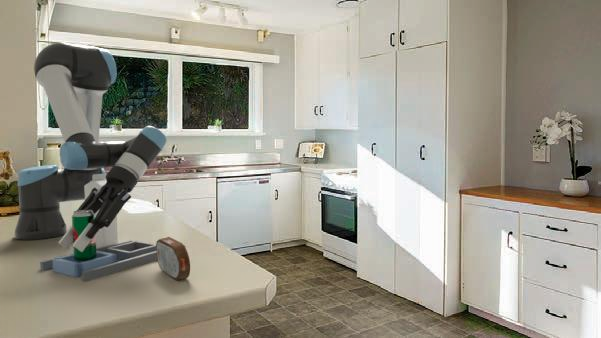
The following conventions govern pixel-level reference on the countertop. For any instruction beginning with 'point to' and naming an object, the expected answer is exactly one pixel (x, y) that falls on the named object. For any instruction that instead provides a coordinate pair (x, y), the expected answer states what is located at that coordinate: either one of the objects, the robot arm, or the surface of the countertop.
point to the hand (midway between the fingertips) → (70, 247)
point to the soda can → (78, 225)
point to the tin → (173, 258)
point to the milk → (106, 233)
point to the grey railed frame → (104, 260)
